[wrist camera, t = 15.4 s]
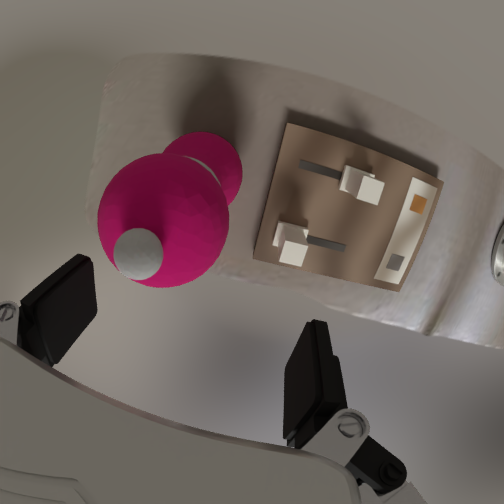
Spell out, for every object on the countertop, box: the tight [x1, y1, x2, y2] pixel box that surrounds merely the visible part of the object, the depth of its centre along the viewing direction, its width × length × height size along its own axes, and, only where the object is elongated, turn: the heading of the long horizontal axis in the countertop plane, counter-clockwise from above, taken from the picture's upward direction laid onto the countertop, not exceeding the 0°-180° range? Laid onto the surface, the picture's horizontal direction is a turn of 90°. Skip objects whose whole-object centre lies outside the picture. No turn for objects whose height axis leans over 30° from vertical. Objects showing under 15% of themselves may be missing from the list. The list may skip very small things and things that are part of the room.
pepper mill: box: [98, 132, 242, 288], centre depth 17 cm, size 7×7×20 cm
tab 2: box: [338, 165, 385, 205], centre depth 22 cm, size 3×2×4 cm
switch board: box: [253, 123, 444, 292], centre depth 27 cm, size 18×14×2 cm
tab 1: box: [272, 221, 309, 267], centre depth 25 cm, size 3×2×4 cm
